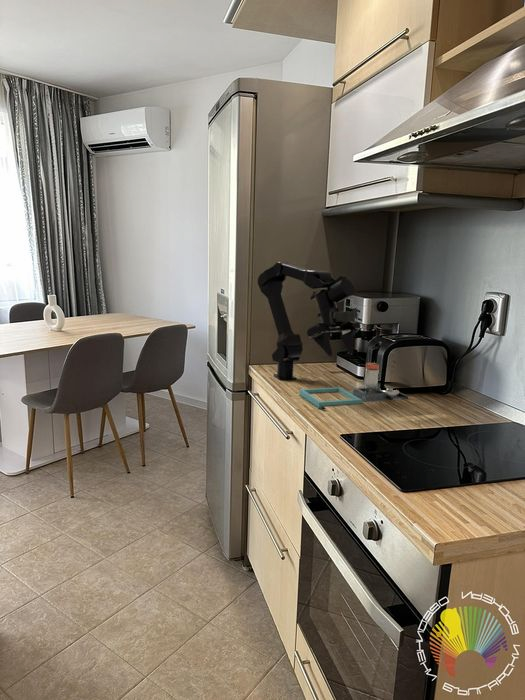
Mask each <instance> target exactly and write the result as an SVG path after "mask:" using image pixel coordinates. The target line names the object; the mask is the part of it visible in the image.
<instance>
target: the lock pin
mask: <svg viewBox="0 0 525 700" xmlns="http://www.w3.org/2000/svg"><path fill="white" fill-rule="evenodd" d="M378 374H379V364H377V363H375V362H366V363H365V373H364V383H363V384H364V385H363V388H364V392H365V393H367V394H370V393H377V389H378V383H379V382H378Z"/></svg>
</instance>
